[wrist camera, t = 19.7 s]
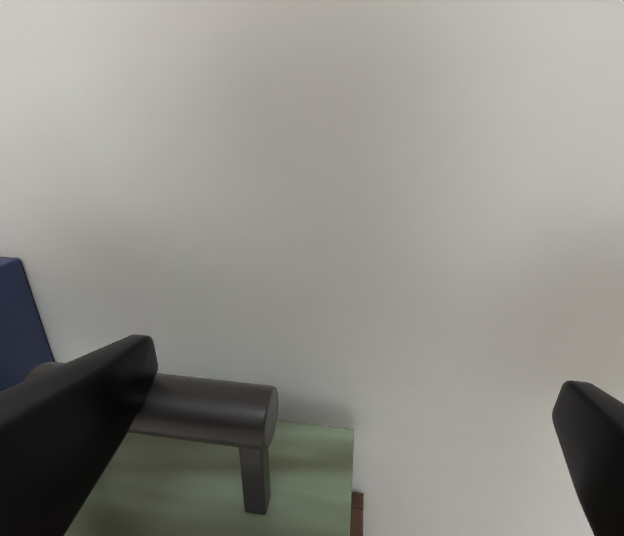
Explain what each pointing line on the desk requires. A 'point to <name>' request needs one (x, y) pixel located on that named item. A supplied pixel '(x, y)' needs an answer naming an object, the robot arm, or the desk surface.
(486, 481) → the desk surface
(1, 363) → the tea tin
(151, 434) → the drawer
